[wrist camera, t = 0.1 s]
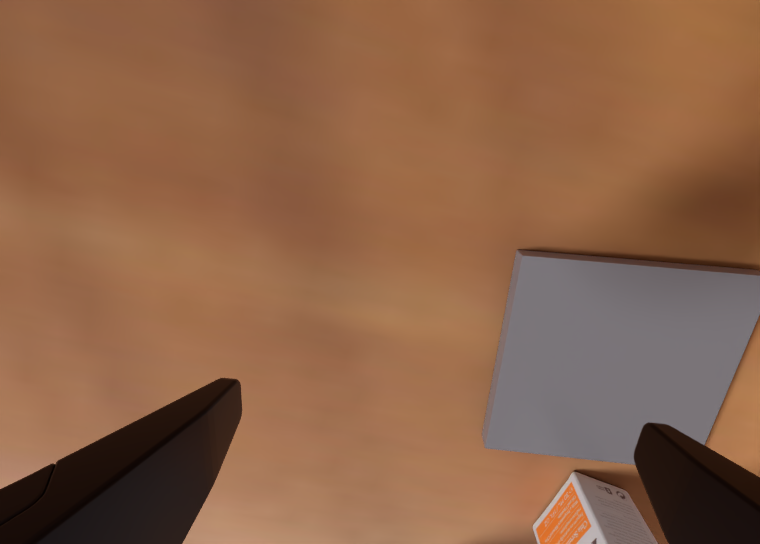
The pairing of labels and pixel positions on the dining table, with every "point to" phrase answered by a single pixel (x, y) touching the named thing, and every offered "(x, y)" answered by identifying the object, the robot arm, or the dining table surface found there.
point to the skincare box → (591, 516)
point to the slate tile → (614, 352)
